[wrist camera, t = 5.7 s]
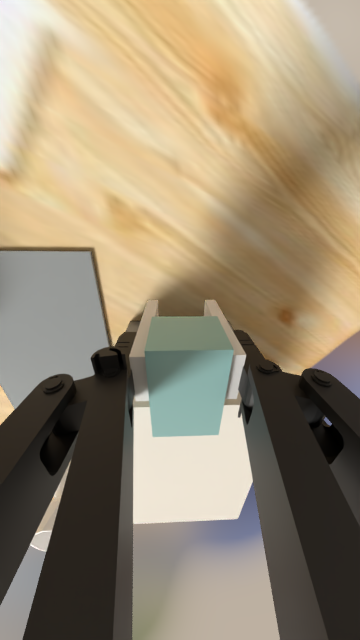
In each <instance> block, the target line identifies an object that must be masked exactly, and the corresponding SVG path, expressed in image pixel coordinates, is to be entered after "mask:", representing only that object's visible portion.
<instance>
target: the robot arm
mask: <svg viewBox="0 0 360 640" xmlns="http://www.w3.org/2000/svg"><path fill="white" fill-rule="evenodd" d="M155 316H159V311H158V300H147V303H146V306H145V309H144V313H143V316H142V319H141V322H140V325H139V328H138V331H137V332H124V333H123V334H122V335H121V336H119V338H118V340H117V343H116V345H115V346H110V347H105V348H102V349H100V350H98V351H96V352H95V353H94V354H93V355H92V356H91V358H90V359H91V362H92V366H93V370H94V373H95V374H94V375H93V376H90V377H87V378H83V379H79V380H75V381H74V380H73V377H72V376H70V375H69V374H57V375H54V376H51V377H48V378H47V379H45V380H43V381H42V382H41V383H39V384H38V385H37V386H36V387H35V388H34V389H33V390H32V392H31V393H30V394H29V395H28V396H27V397H26V398H25V399H24V400H23V401H22V402H21V403H20V405H19V406H18V407H17V408H16V409H15V410H14V411H13V412H12V413H11V414H10V415H9V416H8V418H7V419H6V420H5V421H4V422H3V423H2V424H1V425H0V605H1V603H2V601H3V599H4V597H5V595H6V593H7V590H8V589H9V587H10V584H11V582H12V580H13V578H14V576H15V574H16V572H17V570H18V568H19V566H20V564H21V562H22V560H23V558H24V556H25V554H26V552H27V550H28V547H29V545H30V543H31V541H32V539H33V537H34V535H35V533H36V531H37V529H38V527H39V525H40V523H41V521H42V519H43V517H44V515H45V513H46V510H47V508H48V506H49V504H50V502H51V500H52V498H53V496H54V494H55V492H56V490H57V488H58V486H59V484H60V482H61V480H62V478H63V476H64V473H65V471H66V469H67V467H68V465H69V463H70V461H71V463H70V466H69V470H68V474H67V478H66V481H65V485H64V489H63V492H62V496H61V500H60V503H59V507H58V511H57V514H56V518H55V522H54V526H53V529H52V533H51V537H50V540H49V544H48V548H47V551H46V555H45V559H44V562H43V566H42V570H41V574H40V577H39V581H38V585H37V589H36V593H35V596H34V600H33V603H32V607H31V611H30V614H29V618H28V622H27V625H26V629H25V633H24V636H23V640H132V589H133V586H132V585H133V583H132V582H133V577H132V576H133V445H134V408H133V399H134V395H135V401H149V394H148V383H147V373H146V362H145V352H144V350H145V346H146V341H147V337H148V332H149V328H150V323H151V319H152V317H155ZM204 316H218V319H219V321H220V323H221V325H222V327H223V329H224V331H225V333H226V335H227V337H228V339H229V341H230V343H231V345H232V347H233V349H234V352H233V357H232V363H231V369H230V374H229V380H228V385H227V391H226V396H225V399H237V396H238V391H239V393H240V395H241V398H242V399H241V403H240V407H239V411H238V418H240V416H241V414H242V420H243V426H244V432H245V437H246V443H247V449H248V455H249V461H250V466H251V472H252V478H253V484H254V490H255V495H256V501H257V507H258V513H259V519H260V525H261V530H262V536H263V542H264V548H265V554H266V560H267V566H268V571H269V577H270V582H271V589H272V595H273V601H274V606H275V612H276V618H277V623H278V630H279V635H280V640H360V399H359V398H358V397H357V396H356V395H355V394H353V393H352V392H351V391H350V390H349V389H348V388H347V387H345V386H344V385H343V384H342V383H341V382H339V381H338V380H337V379H336V378H335V377H333V376H332V375H331V374H329V373H327V372H324V371H322V370H318V369H312V368H309V369H305V370H304V371H303V373H302V375H301V376H299V375H294V374H289V373H285V372H282V370H281V369H280V367H279V366H278V365H276V364H275V363H273V362H271V361H269V360H265V359H264V357H263V356H262V354H261V353H260V351H259V350H258V348H257V347H256V345H255V344H254V343H253V341H252V340H251V338H250V337H249V335H248V334H246V333H245V332H244V331H242V330H232V329H231V327H230V325H229V323H228V322H227V320H226V318H225V316H224V315H223V313H222V311H221V309H220V308H219V306H218V304H217V302H216V301H215V300H205V306H204ZM325 417H327V418H328V419H329V421H330V422H331V423H332V425H331V426H329V425H328V424H327V423H326V422H325V421H324V418H325Z"/></svg>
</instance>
